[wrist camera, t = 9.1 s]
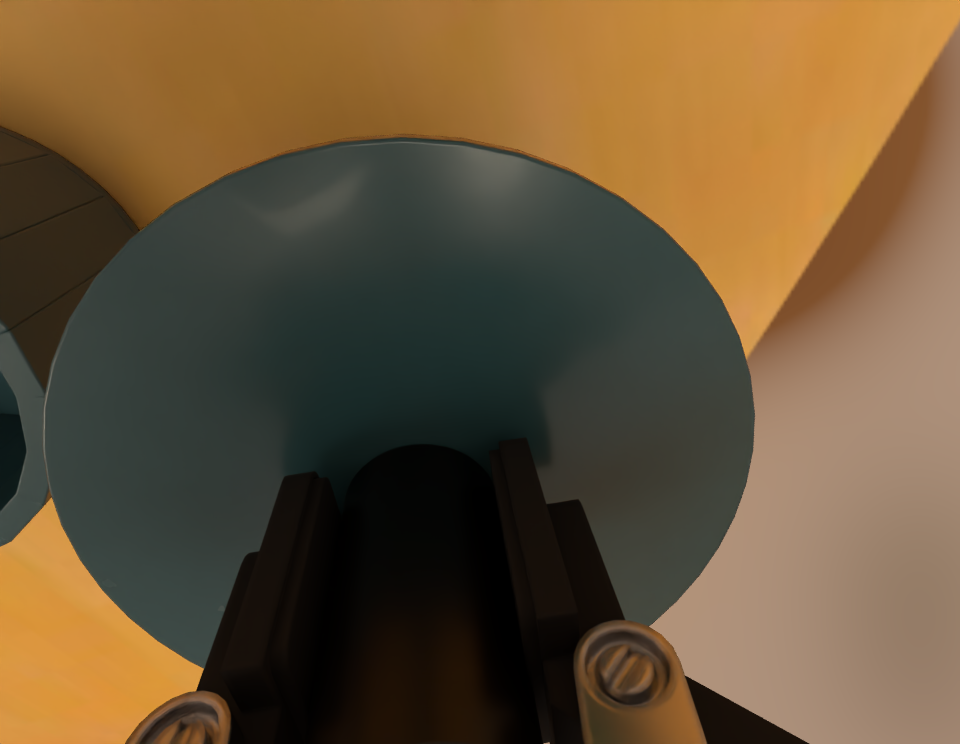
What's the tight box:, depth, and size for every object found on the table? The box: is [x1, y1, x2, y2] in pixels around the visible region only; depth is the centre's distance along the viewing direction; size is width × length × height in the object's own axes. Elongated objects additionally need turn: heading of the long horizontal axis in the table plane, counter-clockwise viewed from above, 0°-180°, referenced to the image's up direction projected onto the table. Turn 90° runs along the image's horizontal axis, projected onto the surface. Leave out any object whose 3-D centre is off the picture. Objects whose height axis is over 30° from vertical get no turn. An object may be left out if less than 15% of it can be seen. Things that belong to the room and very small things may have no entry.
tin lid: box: [42, 134, 755, 744], centre depth 10 cm, size 14×14×7 cm
